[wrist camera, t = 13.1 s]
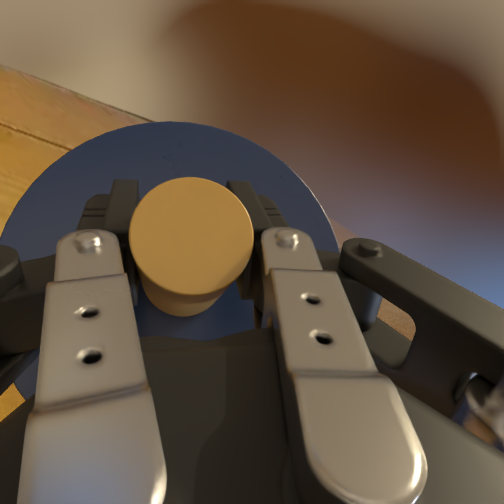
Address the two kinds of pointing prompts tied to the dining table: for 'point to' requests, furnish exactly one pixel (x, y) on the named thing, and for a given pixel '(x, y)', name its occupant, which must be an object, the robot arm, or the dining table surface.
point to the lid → (170, 221)
